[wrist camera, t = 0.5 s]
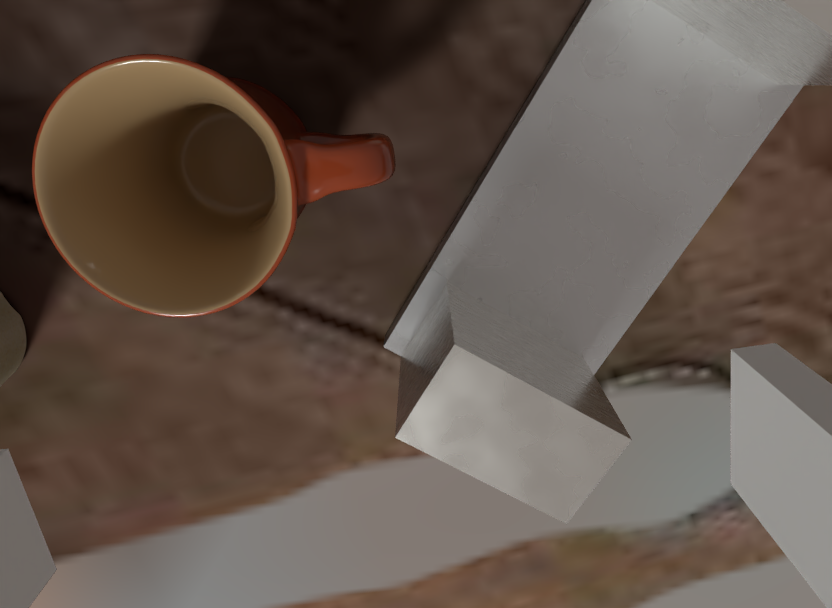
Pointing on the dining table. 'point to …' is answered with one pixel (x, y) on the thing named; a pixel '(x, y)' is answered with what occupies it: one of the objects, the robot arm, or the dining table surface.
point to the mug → (183, 181)
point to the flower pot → (10, 340)
